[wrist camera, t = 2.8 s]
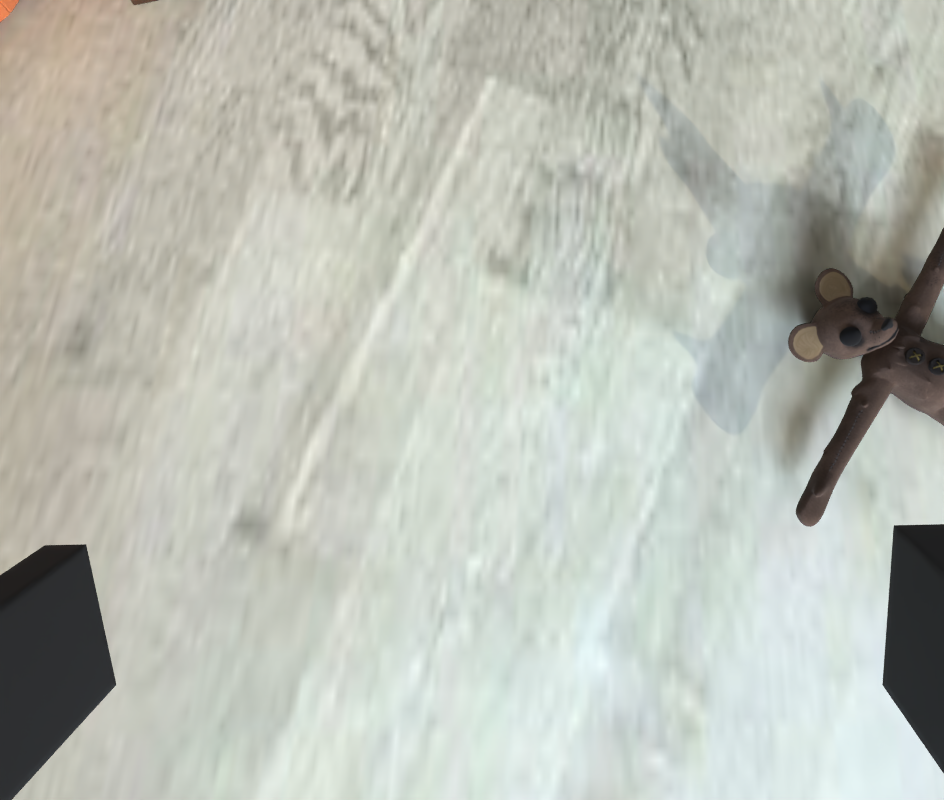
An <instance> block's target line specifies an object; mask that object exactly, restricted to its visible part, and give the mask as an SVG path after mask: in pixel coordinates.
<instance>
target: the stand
mask: <svg viewBox="0 0 944 800" xmlns="http://www.w3.org/2000/svg"><path fill="white" fill-rule="evenodd" d="M152 1H157V0H131V2H132V3H133V5H138V4H143V3H148V2H152Z"/></svg>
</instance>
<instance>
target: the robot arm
mask: <svg viewBox="0 0 944 800" xmlns="http://www.w3.org/2000/svg"><path fill="white" fill-rule="evenodd" d="M115 686H116V681H115V677H114V672H113V667H112V663H111V658H110V654H109V649H108V644H107V640H106V635H105V630H104V626H103V621H102V616H101V612H100V607H99V602H98V598H97V593H96V589H95V584H94V579H93V575H92V570H91V565H90V561H89V556H88V551H87V547H86V545H45V546H43V547H42V548H40V549H39V550H37V551H36V552H34V553H33V554H31V555H30V556H28V557H27V558H25V559H24V560H22V561H21V562H19V563H18V564H16V565H15V566H14V567H12V568H11V569H9V570H8V571H6V572H5V573H3V574H2V575H0V800H12V799H13V798H14V797H15V795H16V794H17V793H18V792H19V791H20V790H21V789H22V788H23V787H24V786H25V784H26V783H27V782H28V781H29V780H30V779H31V778H32V777H33V776H34V775H35V773H36V772H37V771H38V770H39V769H40V768H41V767H42V766H43V765H44V764H45V762H46V761H47V760H48V759H49V758H50V757H51V756H52V755H53V754H54V753H55V751H56V750H57V749H58V748H59V747H60V746H61V745H62V744H63V743H64V742H65V740H66V739H67V738H68V737H69V736H70V735H71V734H72V733H73V732H74V731H75V729H76V728H77V727H78V726H79V725H80V724H81V723H82V722H83V721H84V720H85V719H86V717H87V716H88V715H89V714H90V713H91V712H92V711H93V710H94V709H95V708H96V706H97V705H98V704H99V703H100V702H101V701H102V700H103V699H104V698H105V697H106V695H107V694H108V693H109V692H110V691H111V690H112V689H113V688H114V687H115ZM883 686H884V688H885V689H886V690H887V692H888V693H889V695H890V696H891V698H892V699H893V701H894V702H895V703H896V705H897V706H898V708H899V709H900V711H901V712H902V714H903V715H904V717H905V718H906V719H907V721H908V722H909V724H910V725H911V727H912V728H913V730H914V731H915V732H916V734H917V735H918V737H919V738H920V740H921V741H922V743H923V744H924V745H925V747H926V748H927V750H928V751H929V753H930V754H931V756H932V757H933V758H934V760H935V761H936V763H937V764H938V766H939V767H940V769H941V770H942V772H943V773H944V524H940V525H897V526H894V531H893V545H892V559H891V573H890V588H889V602H888V616H887V630H886V645H885V659H884V673H883Z"/></svg>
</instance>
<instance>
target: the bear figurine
mask: <svg viewBox="0 0 944 800" xmlns="http://www.w3.org/2000/svg"><path fill="white" fill-rule="evenodd" d="M943 284H944V228H943V230H942V232H941V234H940V236H939V238H938V240H937V242H936V244H935V246H934V248H933V249H932V251H931V253H930V254H929V256H928V258H927V260H926V262H925V264H924V267H923V269H922V271H921V273H920V274H919V276H918V278H917V280H916V282H915V283H914V285H913V287H912V288H911V290H910V292H909V293H908V294H907V295H905V297H904V300H903V302H902V304H901V307H900V310H899V312H898V314H897V316H896V317H895V319H893V318H888V317H883V316H882V315H881V314H880V313H879V312H878V311H877V303H876V301H875V300H874V299H872V298H868V297H865V298H862V299H856V298H853V287H852V285H851V283H850V281H849V279H848V278H847V277H846V276H845V275H844V274H843V273H842V272H841V271H839V270H837V269H833V268H829V269H826V270H824V271H823V272H821V274H820V275H819V276H818V278H817V280H816V283H815V292H816V296H817V297H818V299H819V301H820V302H821V303H822V305H823V307H822V308H821V309H819V310H818V311H817V313H816V314H815V316H814V318H813V320H812V322H811V323H805V324H801V325H798V326H796V327H795V328H794V329H793V330H792V332H791V333H790V336H789V341H788V344H789V349H790V351H791V352H792V354H793V355H794V356H795V357H796V358H798V359H800V360H802V361H805V362H814V361H817V360H818V359H819V358H820V357H821V355H822V354H823V353H824V354H826V355H828V356H830V357H833V358H836V359H848V358H853V357H857V356H860V355H863V354H864V355H863V357H862V360H861V368H862V377H863V378H862V381H861V382H860V383H859V384H858V385H857V386H855V387H854V389H853V390H852V392H851V394H852V398H851V400H850V403H849V405H848V407H847V410H846V413H845V415H844V417H843V419H842V421H841V423H840V425H839V427H838V429H837V431H836V433H835V435H834V436H833V438H832V439H831V441H830V442H829V444H828V445H827V447H826V448H825V450H824V453H823V456H822V458H821V460H820V461H819V463H818V465H817V466H816V468H815V469H814V471H813V473H812V475H811V477H810V480H809V482H808V484H807V487H806V489H805V491H804V492H803V494H802V496H801V498H800V500H799V502H798V505H797V508H796V515H797V517H798V519H799V520H800V522H801V523H802V524H803V525H805V526H813V525H815V524H816V523H817V522H818V521H819V520H820V519H821V517H822V515H823V513H824V511H825V509H826V506H827V504H828V501H829V499H830V496H831V494H832V492H833V489H834V487H835V485H836V483H837V481H838V479H839V477H840V475H841V473H842V472H843V470H844V468H845V466H846V465H847V463H848V461H849V460H850V458H851V456H852V455H853V453H854V451H855V450H856V448H857V447H858V445H859V443H860V442H861V440H862V438H863V437H864V435H865V433H866V432H867V430H868V429H869V427H870V425H871V424H872V422H873V420H874V419H875V417H876V416H877V414H878V412H879V411H880V409H881V407H882V406H883V404H884V402H885V401H886V399H887V398H888V396H889V394H890V393H892V394H894V395H895V396H897V397H898V398H899V399H900V400H902V401H903V402H904V403H906V404H907V405H909V406H910V407H912V408H914V409H916V410H918V411H921V412H923V413H925V414H927V415H929V416H930V417H932V418H933V419H935V420H936V421H938V422H939V423H941V424H942V425H944V345H941V344H937V343H934V342H931V341H929V340H926V339H924V338H922V337H921V333H922V331H923V329H924V327H925V325H926V323H927V320H928V318H929V316H930V314H931V311H932V309H933V307H934V305H935V302H936V300H937V298H938V295H939V293H940V291H941V289H942V286H943Z"/></svg>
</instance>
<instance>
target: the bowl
mask: <svg viewBox="0 0 944 800" xmlns="http://www.w3.org/2000/svg"><path fill="white" fill-rule="evenodd" d="M18 2H19V0H0V22H1V21H2V20H4V19H5V18H6V17H7V16H9V15H10V13H11V12H12V11H13V9H14V8H15V6H16V5H17V3H18Z"/></svg>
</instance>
